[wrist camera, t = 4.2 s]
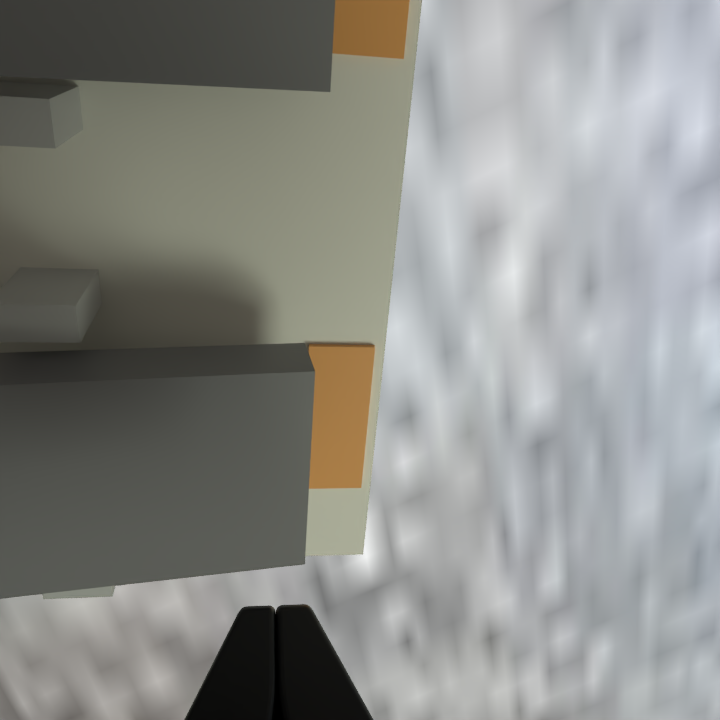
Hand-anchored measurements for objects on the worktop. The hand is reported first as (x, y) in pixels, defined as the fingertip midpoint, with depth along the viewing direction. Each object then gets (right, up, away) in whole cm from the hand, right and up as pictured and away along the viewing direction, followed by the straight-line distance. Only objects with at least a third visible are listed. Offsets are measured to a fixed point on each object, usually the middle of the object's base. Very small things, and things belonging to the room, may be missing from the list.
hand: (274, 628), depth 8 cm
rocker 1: (-4, +2, +3) cm, 5 cm away
